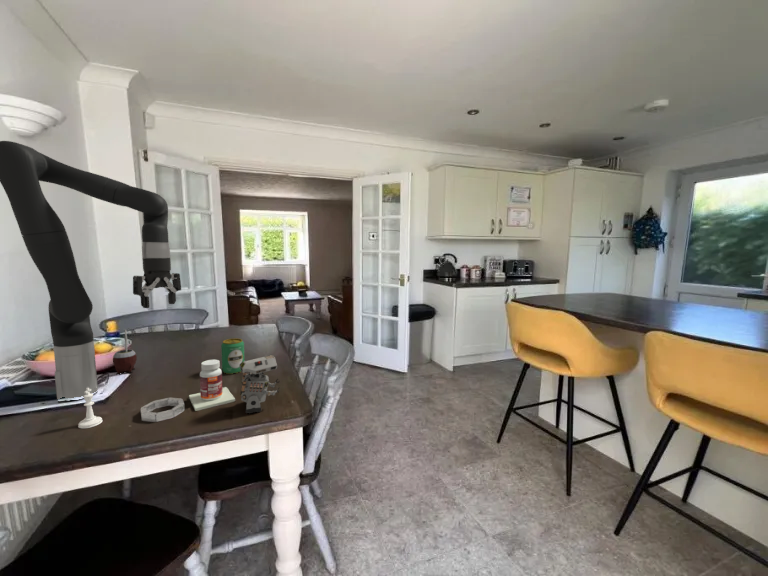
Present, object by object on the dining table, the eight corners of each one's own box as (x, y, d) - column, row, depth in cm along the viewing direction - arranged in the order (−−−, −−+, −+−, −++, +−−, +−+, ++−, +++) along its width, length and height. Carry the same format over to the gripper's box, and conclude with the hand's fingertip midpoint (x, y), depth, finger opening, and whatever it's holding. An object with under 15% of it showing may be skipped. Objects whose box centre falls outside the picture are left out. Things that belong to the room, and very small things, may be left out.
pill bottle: (209, 402, 101) (208, 366, 100) (196, 398, 104) (194, 363, 102) (227, 395, 107) (225, 360, 105) (213, 391, 109) (212, 357, 108)
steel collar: (142, 425, 89) (141, 418, 89) (140, 410, 97) (140, 403, 97) (186, 414, 96) (185, 407, 95) (181, 401, 104) (180, 395, 103)
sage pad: (195, 411, 98) (195, 408, 97) (189, 397, 106) (189, 395, 106) (235, 401, 104) (235, 398, 104) (226, 389, 113) (226, 386, 113)
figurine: (281, 409, 100) (280, 361, 98) (239, 415, 96) (238, 365, 94) (279, 396, 108) (278, 352, 106) (241, 401, 104) (239, 355, 102)
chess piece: (107, 419, 92) (104, 384, 91) (92, 428, 87) (89, 392, 86) (88, 418, 92) (86, 384, 91) (73, 428, 87) (69, 391, 86)
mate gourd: (122, 376, 122) (119, 336, 120) (107, 373, 124) (104, 334, 123) (142, 369, 129) (140, 331, 127) (128, 367, 131) (126, 329, 130)
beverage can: (225, 376, 124) (224, 344, 123) (219, 369, 130) (218, 340, 129) (247, 371, 129) (246, 341, 128) (241, 365, 135) (240, 336, 134)
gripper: (169, 255, 116) (172, 302, 118) (125, 256, 103) (128, 308, 105) (185, 256, 113) (187, 303, 115) (141, 257, 100) (144, 310, 102)
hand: (159, 305), depth 110 cm, fingers open, 8 cm apart
